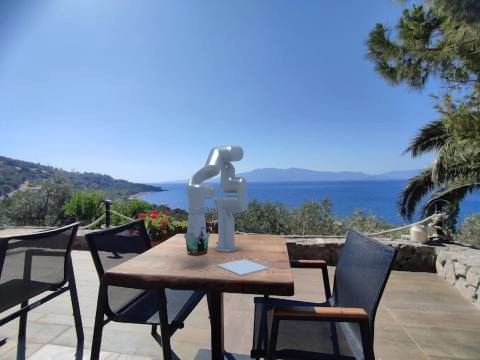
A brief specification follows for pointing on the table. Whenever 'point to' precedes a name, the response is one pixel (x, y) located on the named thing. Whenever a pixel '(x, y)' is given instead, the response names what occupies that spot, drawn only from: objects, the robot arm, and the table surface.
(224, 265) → the mat
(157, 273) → the table surface
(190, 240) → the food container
